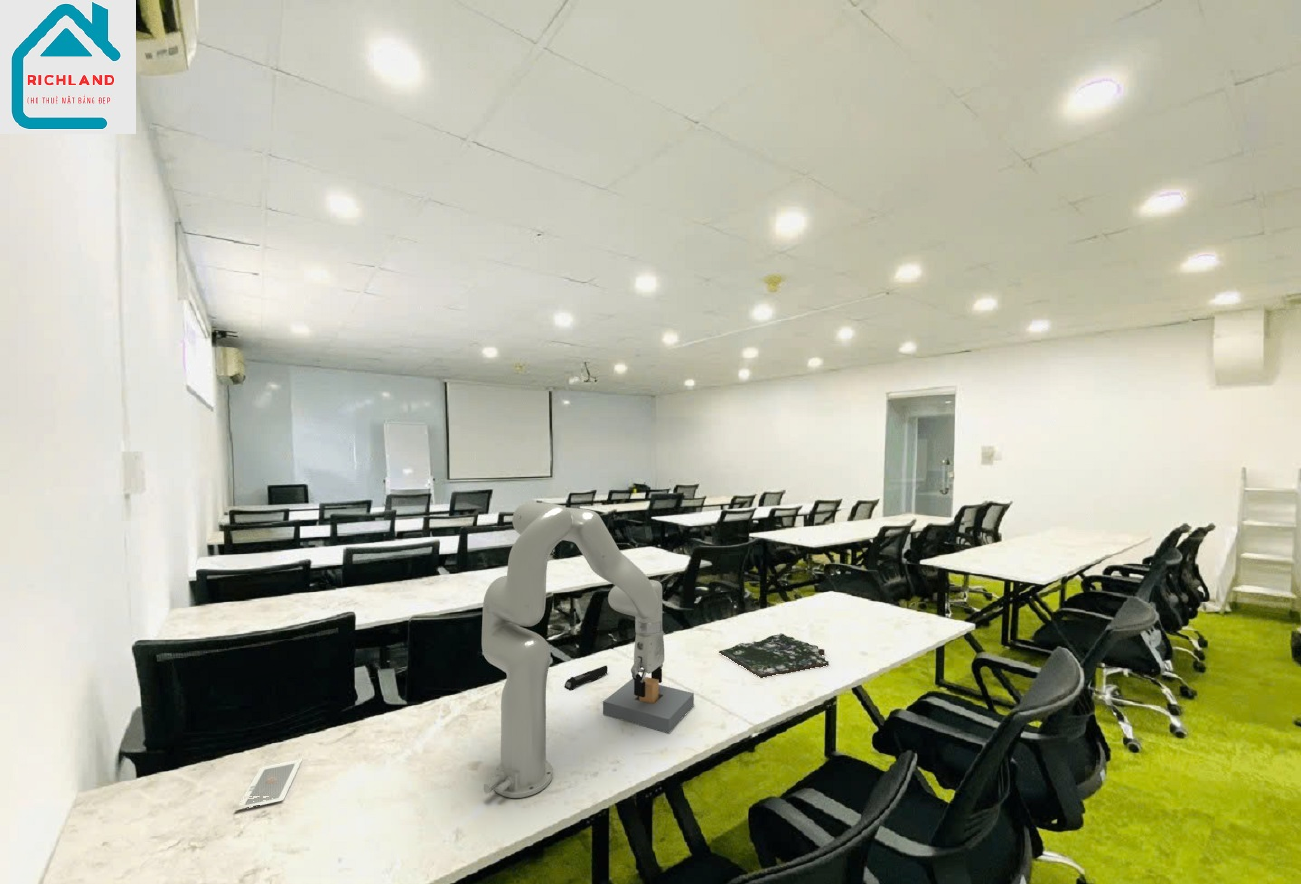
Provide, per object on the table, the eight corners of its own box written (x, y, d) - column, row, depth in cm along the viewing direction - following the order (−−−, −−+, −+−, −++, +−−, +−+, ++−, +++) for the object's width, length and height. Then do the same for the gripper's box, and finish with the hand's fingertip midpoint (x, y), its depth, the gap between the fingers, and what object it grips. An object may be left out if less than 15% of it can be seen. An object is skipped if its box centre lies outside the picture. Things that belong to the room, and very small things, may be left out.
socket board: (668, 733, 124) (668, 719, 125) (603, 714, 134) (603, 701, 134) (693, 705, 139) (693, 693, 139) (632, 690, 148) (632, 678, 148)
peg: (652, 715, 133) (652, 685, 134) (639, 712, 135) (639, 682, 135) (658, 708, 137) (658, 679, 137) (645, 705, 139) (645, 676, 139)
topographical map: (719, 655, 176) (719, 647, 176) (787, 639, 191) (787, 631, 191) (768, 684, 153) (768, 674, 153) (841, 663, 168) (841, 654, 168)
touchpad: (302, 763, 113) (302, 754, 113) (283, 805, 100) (283, 794, 100) (260, 772, 110) (261, 762, 110) (234, 816, 97) (235, 805, 97)
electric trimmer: (610, 676, 158) (610, 666, 159) (570, 692, 148) (570, 681, 148) (603, 673, 161) (603, 663, 161) (563, 688, 150) (563, 677, 150)
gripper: (645, 638, 128) (645, 705, 127) (674, 619, 143) (674, 679, 142) (620, 633, 131) (620, 698, 130) (651, 615, 146) (651, 674, 146)
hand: (648, 688), depth 136 cm, fingers open, 9 cm apart
